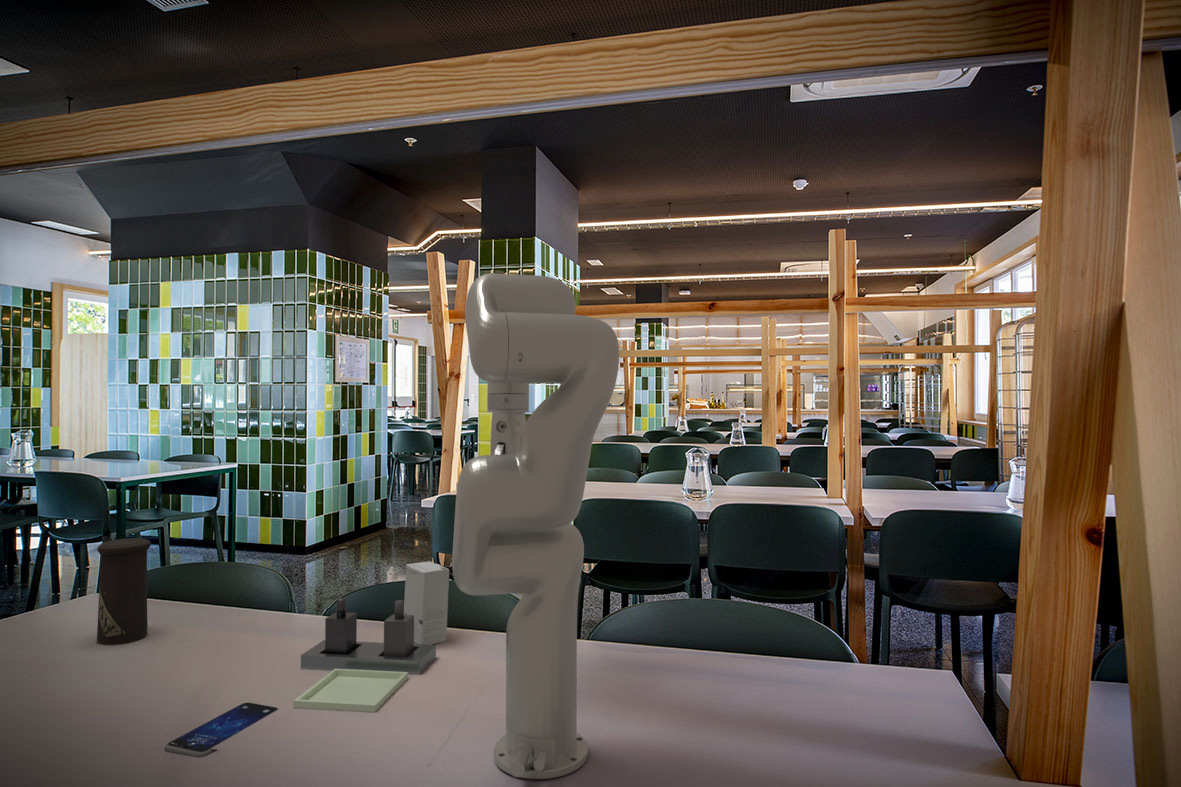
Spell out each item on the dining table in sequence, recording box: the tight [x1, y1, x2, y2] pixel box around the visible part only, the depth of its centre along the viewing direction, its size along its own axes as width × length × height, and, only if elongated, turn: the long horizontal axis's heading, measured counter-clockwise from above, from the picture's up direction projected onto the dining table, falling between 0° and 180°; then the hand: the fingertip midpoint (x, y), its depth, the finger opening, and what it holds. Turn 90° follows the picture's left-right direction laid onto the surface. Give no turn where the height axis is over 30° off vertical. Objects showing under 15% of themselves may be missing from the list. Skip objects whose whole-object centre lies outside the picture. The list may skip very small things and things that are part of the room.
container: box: [96, 537, 152, 645], centre depth 139 cm, size 9×9×20 cm
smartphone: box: [164, 702, 279, 758], centre depth 100 cm, size 7×1×15 cm
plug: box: [383, 599, 415, 658], centre depth 124 cm, size 4×4×11 cm
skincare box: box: [403, 560, 450, 645], centre depth 139 cm, size 8×6×15 cm
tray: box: [292, 669, 409, 713], centre depth 112 cm, size 13×13×2 cm
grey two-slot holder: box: [300, 597, 437, 675], centre depth 125 cm, size 8×22×12 cm, turn 83°
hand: (507, 499), depth 124 cm, fingers open, 9 cm apart
